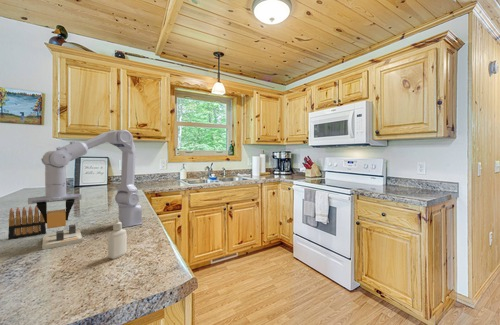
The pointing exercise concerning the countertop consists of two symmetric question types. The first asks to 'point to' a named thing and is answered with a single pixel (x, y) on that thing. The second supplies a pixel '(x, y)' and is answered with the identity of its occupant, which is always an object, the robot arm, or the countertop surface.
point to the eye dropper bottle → (117, 241)
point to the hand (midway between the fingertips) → (56, 221)
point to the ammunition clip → (25, 224)
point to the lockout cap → (56, 218)
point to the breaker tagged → (59, 235)
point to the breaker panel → (51, 242)
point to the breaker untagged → (72, 229)
